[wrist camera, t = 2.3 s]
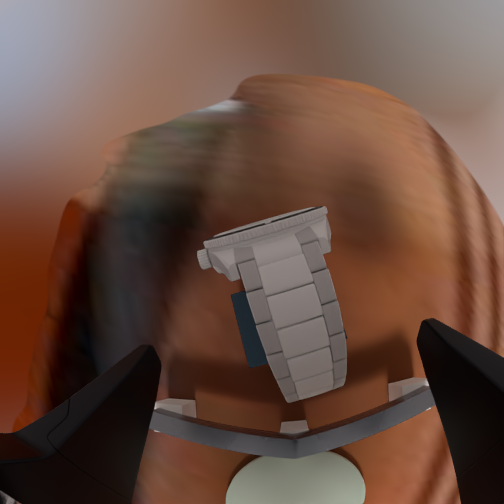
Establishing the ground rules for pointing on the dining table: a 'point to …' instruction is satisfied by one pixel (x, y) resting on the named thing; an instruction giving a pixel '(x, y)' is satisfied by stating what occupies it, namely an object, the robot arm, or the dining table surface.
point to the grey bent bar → (299, 442)
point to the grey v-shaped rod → (292, 427)
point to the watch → (285, 299)
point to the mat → (298, 481)
